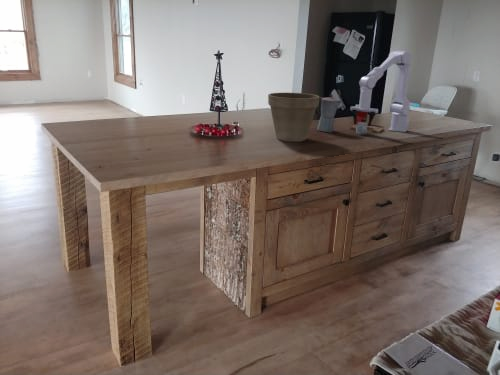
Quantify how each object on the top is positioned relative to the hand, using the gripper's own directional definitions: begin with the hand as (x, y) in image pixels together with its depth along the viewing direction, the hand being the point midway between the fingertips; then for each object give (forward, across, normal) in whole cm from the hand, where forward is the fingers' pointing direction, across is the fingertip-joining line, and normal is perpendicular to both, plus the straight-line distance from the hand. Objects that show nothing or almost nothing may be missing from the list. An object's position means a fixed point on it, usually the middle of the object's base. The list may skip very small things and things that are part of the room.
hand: (362, 124), depth 244 cm
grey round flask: (+5, 0, -2) cm, 5 cm away
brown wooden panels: (+5, 0, +13) cm, 14 cm away
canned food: (+5, -9, +29) cm, 31 cm away
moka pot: (+5, -19, -7) cm, 20 cm away
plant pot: (+4, -26, -38) cm, 46 cm away
